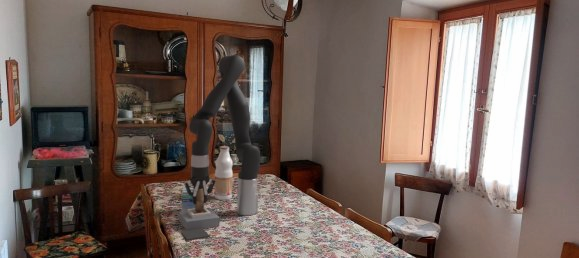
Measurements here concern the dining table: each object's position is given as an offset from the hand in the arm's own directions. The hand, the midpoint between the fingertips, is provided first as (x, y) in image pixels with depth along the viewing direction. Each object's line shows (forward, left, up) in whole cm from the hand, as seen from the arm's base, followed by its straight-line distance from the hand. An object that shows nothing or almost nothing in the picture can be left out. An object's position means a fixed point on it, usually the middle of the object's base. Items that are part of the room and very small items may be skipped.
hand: (199, 203), depth 165 cm
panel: (0, 0, -9) cm, 9 cm away
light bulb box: (-2, -16, -9) cm, 19 cm away
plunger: (0, 0, -9) cm, 9 cm away
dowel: (0, 0, -3) cm, 3 cm away
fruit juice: (-23, -32, -9) cm, 40 cm away
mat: (+5, +12, -9) cm, 16 cm away
